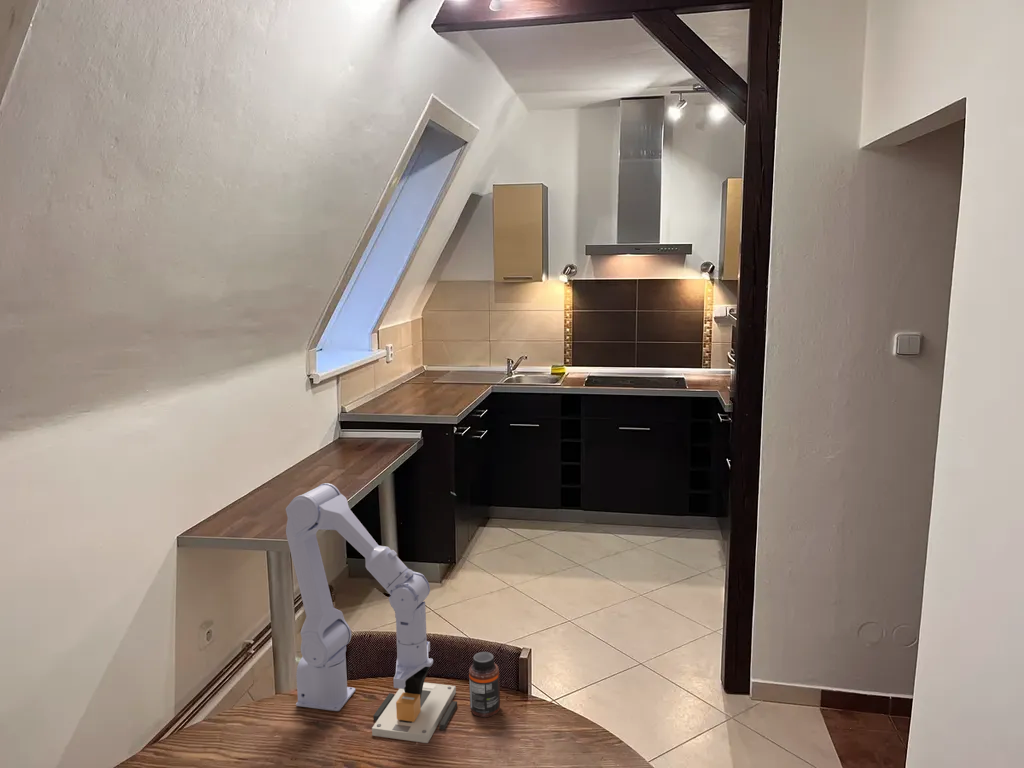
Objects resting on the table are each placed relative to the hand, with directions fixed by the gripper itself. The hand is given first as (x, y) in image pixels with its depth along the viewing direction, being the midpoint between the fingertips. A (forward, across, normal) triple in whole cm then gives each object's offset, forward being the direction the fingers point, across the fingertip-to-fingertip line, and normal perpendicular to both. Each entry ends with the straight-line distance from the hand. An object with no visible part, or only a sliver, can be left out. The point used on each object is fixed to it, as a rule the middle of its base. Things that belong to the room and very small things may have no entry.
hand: (414, 703), depth 148 cm
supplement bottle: (+3, +5, -13) cm, 14 cm away
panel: (+3, +1, 0) cm, 3 cm away
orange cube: (+1, -3, 0) cm, 3 cm away
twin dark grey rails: (+3, +1, 0) cm, 3 cm away
